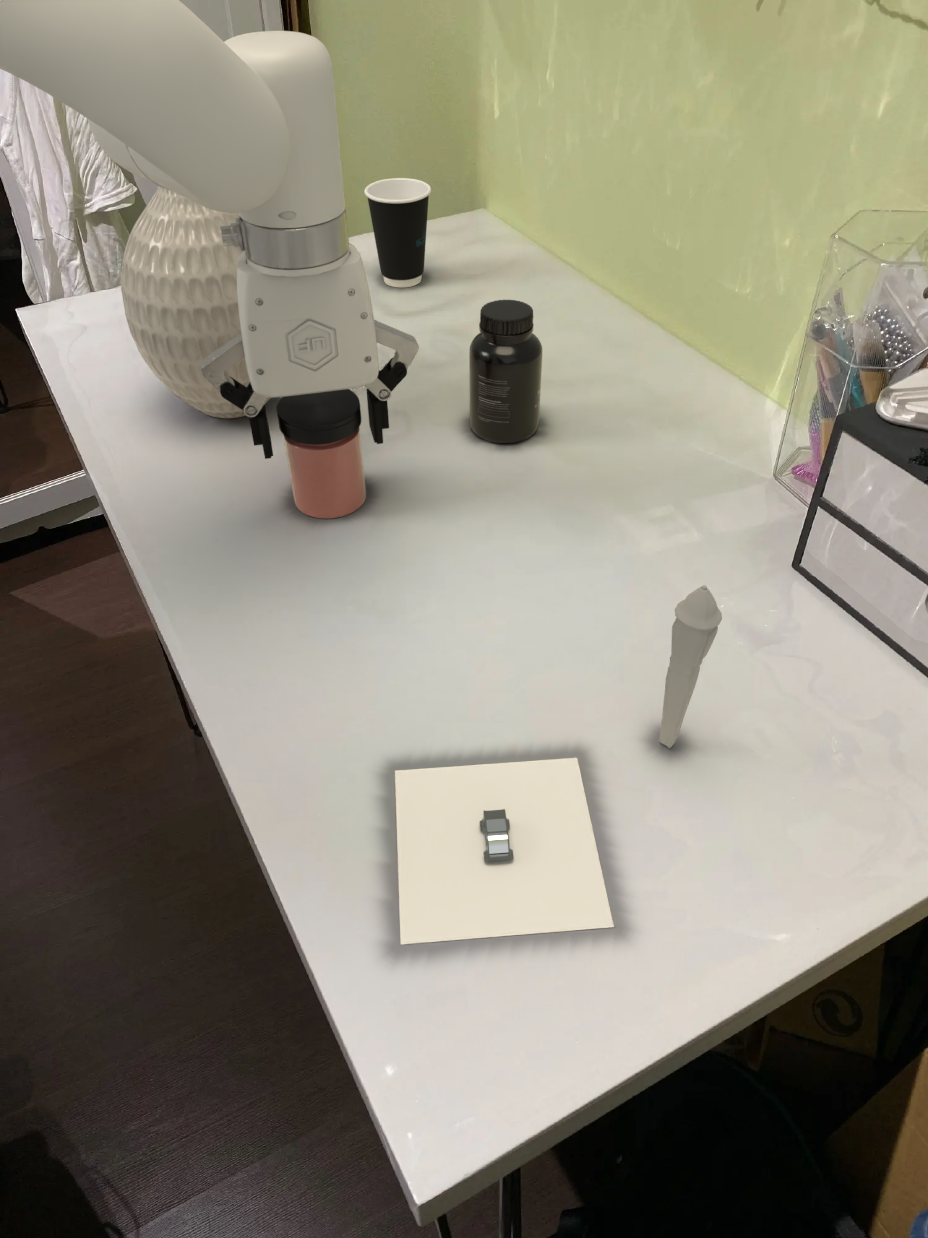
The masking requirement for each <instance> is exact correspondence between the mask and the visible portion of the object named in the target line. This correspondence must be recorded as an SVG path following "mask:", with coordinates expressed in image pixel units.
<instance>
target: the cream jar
mask: <svg viewBox="0 0 928 1238" xmlns="http://www.w3.org/2000/svg"><path fill="white" fill-rule="evenodd" d="M360 427H361V426H359V428H358V429H357V431H356V432H355V433H353V434H352V435H350V436H349V437H347V438H345V439H343V440H340V441H337V442H333V443H328V444H319V445H311V444H303V443H298V442H295V441H292V440H290V439H288V438H287V437H285V436H284V435H283V434H282V435H283V436H282V437H283V441H284V447H285V452H286V459H287V465H288V471H289V478H290V483H291V488H292V495H293V501H294V504H295V506H296V508H297V509H298V511H300V512H301V513H302V514H304V515H306V516H309V517H312V518H316V519H336V518H337V519H338V518H341V517H344V516H345V517H346V516H348V515H350V514H352V513H354V512H355V511H357V510H359V509H360V508H361V507H362V505H363V504H364V503H365V500H366V498H367V490H366V489H367V487H366V479H365V469H364V458H363V447H362V439H361V437H362V436H361V430H360Z"/></svg>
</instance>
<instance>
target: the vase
mask: <svg viewBox="0 0 928 1238" xmlns="http://www.w3.org/2000/svg"><path fill="white" fill-rule="evenodd" d="M235 218H239V219H240V217H239V213H227V212H219V211H215V210H212V209H209V208H206V207H204V206H202V205H200V204H198V203H196V202H194V201H192V200H190V199H188V198H186V197H184V196H181V195H179V194H177V193H175V192H173V191H171V190H169V189H166V188H163V187H161V186H159V185H157V187H156V191H155V192H154V194H153V195H152V197H151V198H150V200H149V202H148V203H147V204H146V206H145V207H144V209H143V210H142V212H141V214H140V215H139V217H138V218H137V220H136V221H135V223H134V225H133V227H132V229H131V231H130V233H129V236H128V238H127V241H126V246H125V249H124V252H123V256H122V264H121V272H120V273H121V274H120V290H121V296H122V304H123V309H124V310H123V311H124V315H125V318H126V322H127V326H128V329H129V333H130V335H131V337H132V339H133V341H134V343H135V346H136V348H137V350H138V352H139V354H140V356H141V358H142V359H143V360H144V362H145V363H146V365H147V366H148V368H149V369H150V371H151V372H152V374H153V375H154V376H155V377H156V378H157V379H158V380H159V381H160V382H161V383H162V384H163V385H164V386H165V387H166V388H167V389H168V390H169V391H170V392H171V393H172V394H174V395H175V396H176V397H178V398H179V399H180V400H181V401H183V402H184V403H185V404H187V405H189V406H190V407H192V408H193V409H196V410H197V411H199V412H201V413H203V414H205V415H207V416H209V417H212V418H217V419H238V418H242V417H247V416H246V415H245V414H244V411H243V410H241V409H240V408H238V407H237V406H235V405H234V404H232V403H231V402H229V401H227V400H226V399H224V398H223V397H222V396H221V393H220V392H219V391H218V390H217V389H216V388H215V387H214V386H213V385H212V384H211V383H210V382H209V381H208V380H207V379H206V378H205V377H204V376H203V374H202V371H201V362H202V361H203V360H204V359H205V358H206V357H208V356H209V355H211V354H212V353H213V352H215V351H216V350H218V349H219V348H220V347H222V346H223V345H225V344H226V343H227V342H229V341H230V340H232V339H233V338H234V337H236V336H237V335H239V334H240V333H241V326H240V318H239V310H238V296H237V264H238V258H239V256H240V255H241V254H242V253H243V252H245V251H241V249H240V247H234V245H231V246H224V245H223V241H222V235H221V229H220V226H230V225H231V224H230V223H236V219H235ZM226 372H227V374H228V375H229V376H230V377H232V378H233V379H235V380H236V381H238V382H239V383H241V384H242V385H244V386H246V384H247V382H248V381H249V375H248V371H247V366H246V361H245V357H244V358H242V359H241V360H239V361H238V362H236V363H235V364H234V365H232V366H231V367H229V368H228V369H227V370H226ZM271 398H272V397H268V399H267V400H266V402H265V405H267V403H268V402H269V401H270V400H271Z"/></svg>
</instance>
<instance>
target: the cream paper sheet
mask: <svg viewBox="0 0 928 1238" xmlns="http://www.w3.org/2000/svg"><path fill="white" fill-rule="evenodd" d="M394 782H395V783H394V786H395V812H396V813H395V815H396V819H395V820H396V842H397V843H396V846H397V847H396V848H397V877H398V879H397V880H398V881H397V882H398V906H399V907H398V909H399V936H400V937H399V939H400V941H399V942H400V945H409V944H410V945H411V944H423V943H437V942H448V941H461V940H473V939H483V938H484V939H485V938H497V937H509V936H510V937H511V936H523V935H533V934H534V935H535V934H545V933H546V934H547V933H556V932H557V933H558V932H559V933H560V932H572V931H582V930H594V929H595V930H596V929H609V928H615V925H614V921H613V915H612V912H611V907H610V902H609V899H608V894H607V889H606V888H607V887H606V885H605V879H604V875H603V870H602V865H601V861H600V856H599V851H598V847H597V843H596V838H595V834H594V828H593V825H592V820H591V816H590V815H591V814H590V811H589V805H588V801H587V796H586V792H585V787H584V783H583V778H582V773H581V768H580V765H579V759H578V757H568V758H555V759H554V758H552V759H539V760H526V761H523V760H522V761H509V762H497V763H483V764H481V763H480V764H467V765H456V766H455V765H454V766H440V767H439V766H438V767H427V768H425V767H424V768H412V769H400V770H398V769H397V770H394Z"/></svg>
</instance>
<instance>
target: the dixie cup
mask: <svg viewBox="0 0 928 1238" xmlns="http://www.w3.org/2000/svg"><path fill="white" fill-rule="evenodd" d="M431 192H432V187H431V186H430V185H429V184H428V183H427V182H426V181H422V180H420V179H416V178H409V177H408V178H407V177H395V178H394V177H391V178H385V179H380V180H376V181H374V182H372V183H369V184H368V185H366V187H365V188H364V195H365V196H366V197H367V202H368V207H369V214H370V220H371V226H372V230H373V236H374V243H375V247H376V252H377V259H378V264H379V270H380V273H381V276H383V282H384V283H385V284H386V285H388V286H390V287H392V288H403V289H404V288H410V287H414V286H417V285H418V284H420V283H421V282H422V277H423V274H424V272H425V271H424V270H425V257H426V245H427V244H426V242H427V241H426V240H427V227H428V215H429V213H428V212H429V198H430V194H431Z"/></svg>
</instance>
